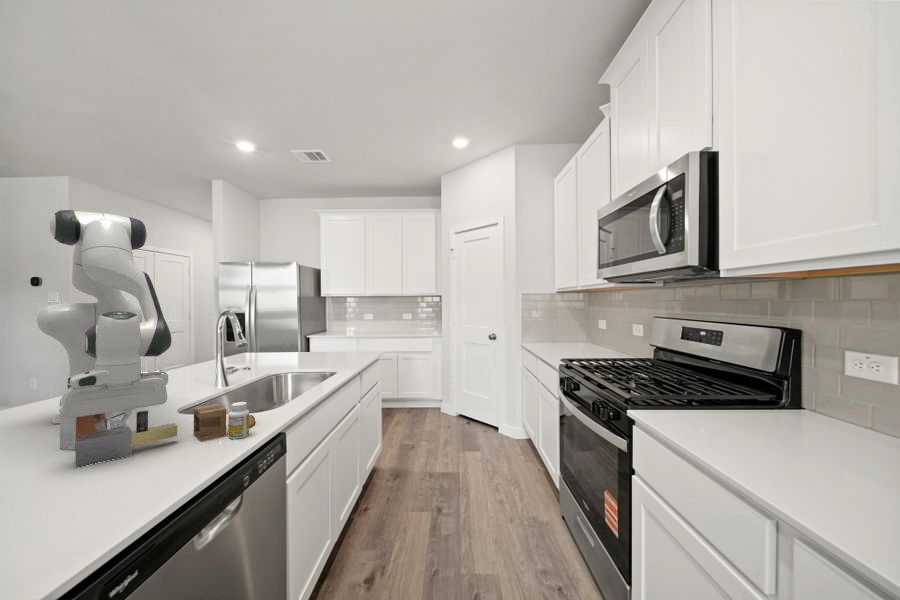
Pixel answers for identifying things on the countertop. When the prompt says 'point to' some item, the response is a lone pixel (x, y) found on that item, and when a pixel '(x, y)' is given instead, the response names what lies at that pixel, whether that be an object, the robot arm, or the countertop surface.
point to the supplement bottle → (238, 421)
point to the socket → (209, 422)
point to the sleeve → (103, 446)
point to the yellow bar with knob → (151, 430)
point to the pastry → (251, 420)
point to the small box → (79, 428)
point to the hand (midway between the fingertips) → (117, 427)
